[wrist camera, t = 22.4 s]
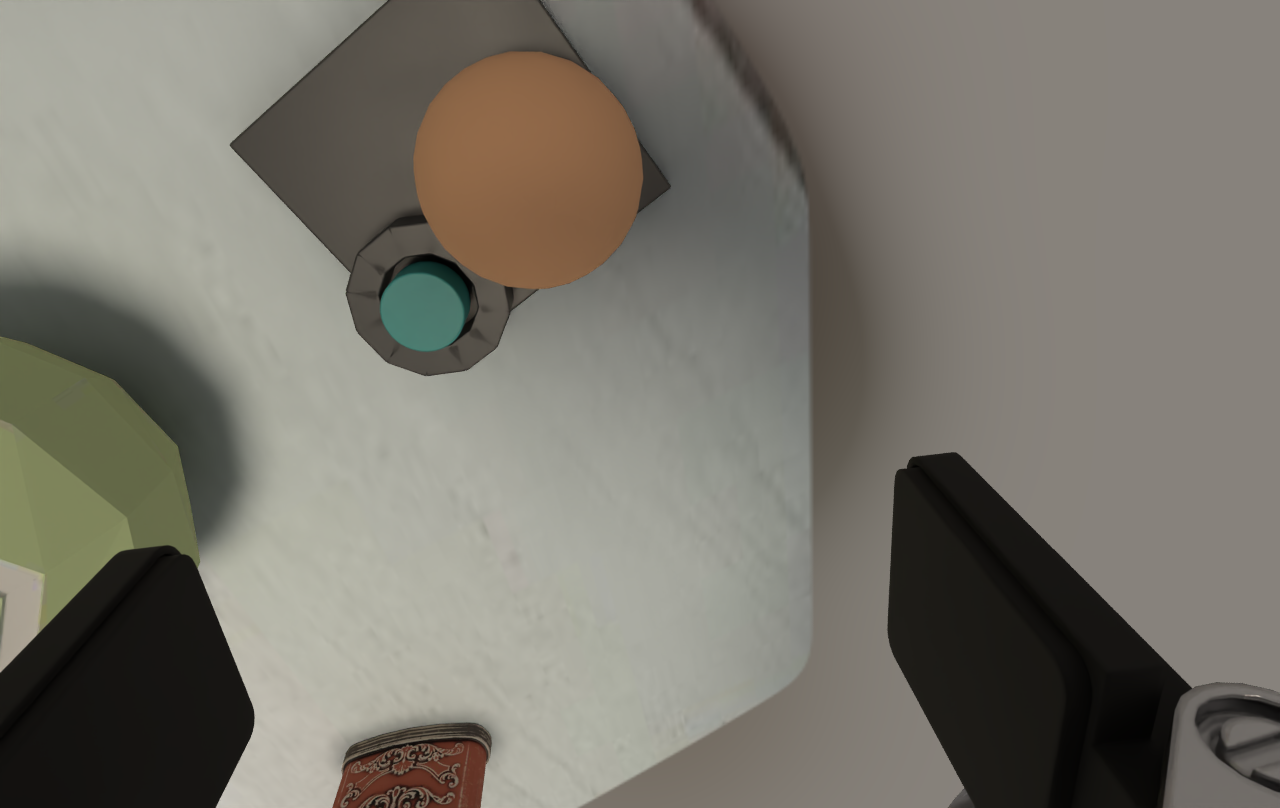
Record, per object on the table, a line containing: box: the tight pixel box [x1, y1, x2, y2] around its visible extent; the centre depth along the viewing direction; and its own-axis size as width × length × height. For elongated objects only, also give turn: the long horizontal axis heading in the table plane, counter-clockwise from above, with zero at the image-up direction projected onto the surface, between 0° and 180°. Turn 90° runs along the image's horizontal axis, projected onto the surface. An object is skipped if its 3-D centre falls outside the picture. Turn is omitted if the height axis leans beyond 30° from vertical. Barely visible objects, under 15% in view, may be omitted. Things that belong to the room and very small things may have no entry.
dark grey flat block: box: [230, 0, 671, 376], centre depth 28 cm, size 12×13×3 cm
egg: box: [413, 51, 643, 289], centre depth 24 cm, size 7×7×8 cm
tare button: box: [380, 261, 470, 352], centre depth 28 cm, size 3×3×2 cm
